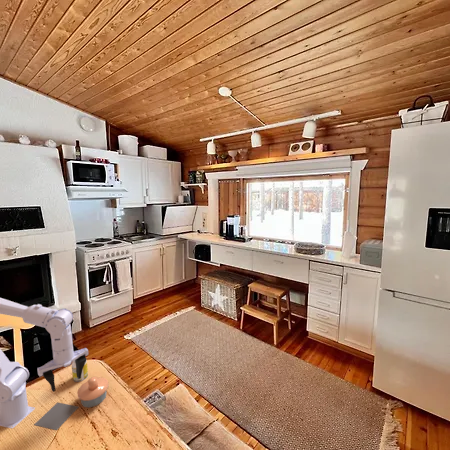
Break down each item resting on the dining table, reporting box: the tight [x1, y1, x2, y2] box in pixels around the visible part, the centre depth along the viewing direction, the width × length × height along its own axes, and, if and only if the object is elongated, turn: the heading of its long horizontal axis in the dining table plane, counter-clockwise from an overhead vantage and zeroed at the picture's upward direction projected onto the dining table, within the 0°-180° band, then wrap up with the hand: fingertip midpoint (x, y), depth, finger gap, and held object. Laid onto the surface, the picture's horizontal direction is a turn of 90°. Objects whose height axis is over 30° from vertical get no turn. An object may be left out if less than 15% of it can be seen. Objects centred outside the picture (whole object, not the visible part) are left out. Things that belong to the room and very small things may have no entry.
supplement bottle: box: [71, 359, 89, 383], centre depth 103 cm, size 5×5×10 cm
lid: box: [77, 376, 109, 401], centre depth 92 cm, size 10×10×4 cm
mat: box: [33, 402, 79, 431], centre depth 86 cm, size 9×9×1 cm
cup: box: [80, 391, 107, 408], centre depth 93 cm, size 8×8×4 cm
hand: (66, 383), depth 87 cm, fingers open, 7 cm apart
